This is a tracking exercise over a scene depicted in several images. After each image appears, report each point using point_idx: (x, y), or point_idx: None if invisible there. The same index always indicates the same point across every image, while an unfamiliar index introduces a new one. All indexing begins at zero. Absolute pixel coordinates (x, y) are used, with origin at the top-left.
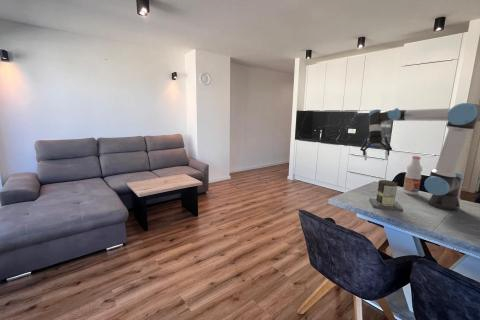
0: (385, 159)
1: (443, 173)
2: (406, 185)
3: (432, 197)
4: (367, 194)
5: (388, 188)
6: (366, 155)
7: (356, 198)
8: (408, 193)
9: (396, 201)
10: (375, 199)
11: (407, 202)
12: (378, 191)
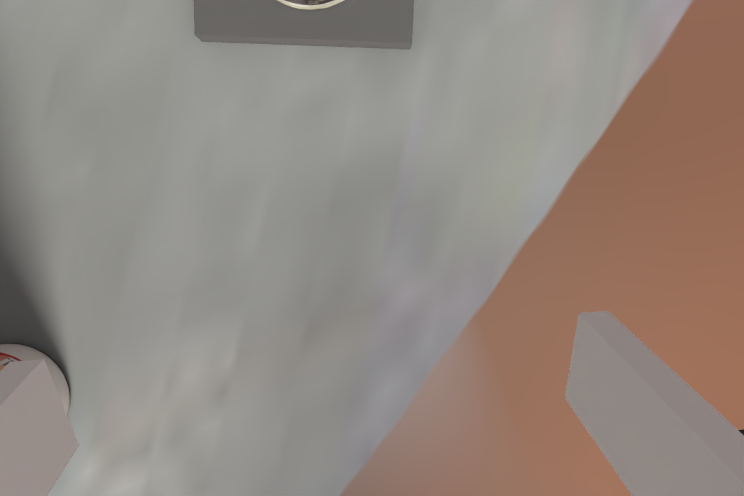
0: (63, 460)
1: None
2: None
3: None
4: (394, 209)
5: None
6: (674, 407)
7: (512, 52)
8: (37, 352)
9: (198, 28)
10: (369, 15)
11: (105, 106)
12: None
